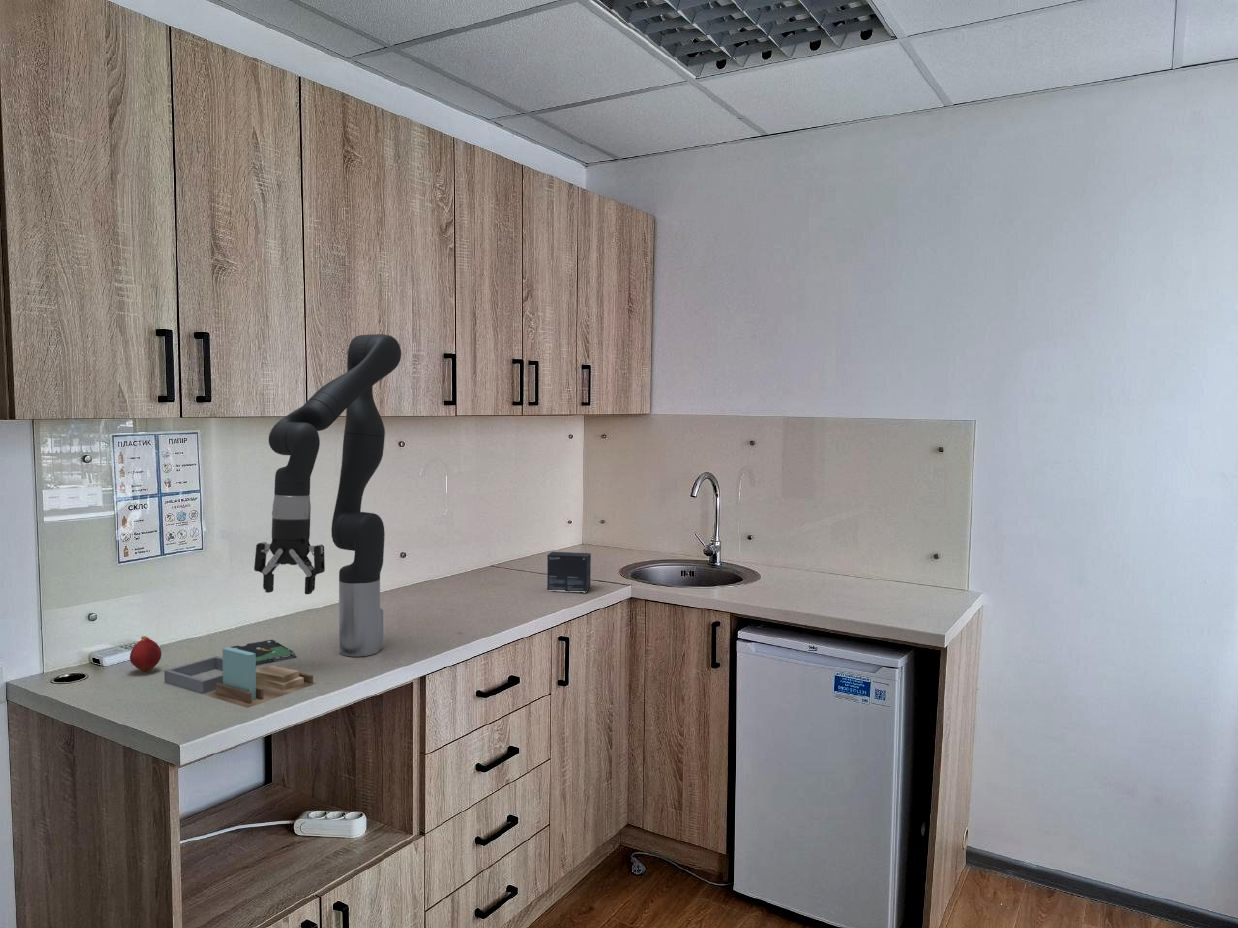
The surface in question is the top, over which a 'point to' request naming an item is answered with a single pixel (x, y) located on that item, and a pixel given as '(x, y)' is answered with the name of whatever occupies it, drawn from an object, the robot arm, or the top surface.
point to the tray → (185, 673)
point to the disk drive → (267, 651)
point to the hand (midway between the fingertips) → (288, 592)
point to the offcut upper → (276, 674)
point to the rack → (262, 692)
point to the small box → (568, 571)
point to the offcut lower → (281, 686)
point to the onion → (145, 654)
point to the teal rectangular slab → (239, 670)
